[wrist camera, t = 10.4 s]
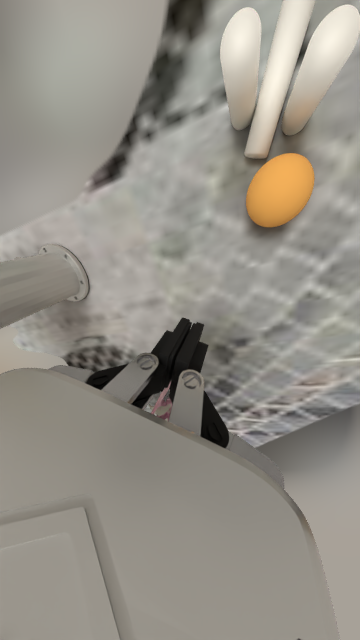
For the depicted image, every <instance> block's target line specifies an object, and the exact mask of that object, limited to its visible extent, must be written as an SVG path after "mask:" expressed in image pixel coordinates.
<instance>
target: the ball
mask: <svg viewBox="0 0 360 640" xmlns="http://www.w3.org/2000/svg"><path fill="white" fill-rule="evenodd" d="M313 186H314V171H313V168H312V165H311V164H310V162H309V161H308V160H307V159H306V158H305V157H303V156H302V155H299V154H295V153H287V154H282V155H279V156H277V157H275V158H273V159H271V160H270V161H268V162H267V163H266V164H264V165H263V166H262V167H261V168H260V170H259V171H258V172H257V173H256V175H255V176H254V178H253V179H252V181H251V183H250V186H249V188H248V192H247V197H246V207H247V211H248V214H249V216H250V218H251V219H252V220H253V221H254V222H255V223H256V224H258V225H260V226H263V227H276V226H280V225H283V224H285V223H287V222H288V221H290V220H292V219H293V218H294V217H295V216H296V215H298V214H299V213H300V211H301V210H302V209H303V208H304V206H305V205H306V204H307V202H308V200H309V198H310V196H311V193H312V190H313Z"/></svg>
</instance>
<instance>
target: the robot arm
mask: <svg viewBox="0 0 360 640" xmlns="http://www.w3.org/2000/svg"><path fill="white" fill-rule="evenodd" d="M88 288H89V285H88V279H87V276H86V273H85V271H84V269H83V267H82V265H81V264H80V262H79V261H78V260H77V258H76V257H75V256H74V255H73V254H72V253H71V252H69V251H68V250H67V249H65V248H64V247H62V246H59V245H56V244H48V245H44V246H43V247H41V249H40V250H39V253H38V255H37V256H31V257H26V258H21V257H16V258H15V259H14V260H10V261H4V262H0V329H1V328H3V327H6V326H8V325H10V324H12V323H14V322H17V321H19V320H21V319H23V318H25V317H28V316H30V315H32V314H34V313H36V312H39V311H41V310H43V309H45V308H47V307H49V306H52V305H54V304H56V303H58V302H60V301H63V300H65V299H67V300H69V301H75V302H76V301H80V300H82V299H84V298H85V297H86V295H87V293H88ZM189 321H190V320H189V319H186V318H182V319H181V320H180V322H179V323H178V325H177V327H176V328H175V330H174V331H173V332H170V331H168V330H167V331H166V332H165V333H164V335H163V336H162V338H161V339H160V341H159V342H158V343H157V345H156V346H155V348H154V349H153V350H152V352H151V353H142V354H140V355H138V356H137V357H136V358H135V359H134V360H133V361H132V362H130V363H129V364H126V365H122V366H118V367H114V368H110V369H105V370H101V371H98V372H95V373H93V372H92V371H91V370H86V369H80V368H74V367H69V366H63V365H59V366H54V367H52V368H50V369H40V368H21V369H14V370H11V371H7V372H5V373H2V374H0V640H340V636H339V632H338V627H337V622H336V618H335V613H334V609H333V605H332V601H331V597H330V593H329V588H328V585H327V580H326V576H325V572H324V569H323V565H322V561H321V558H320V555H319V551H318V548H317V545H316V542H315V539H314V537H313V534H312V531H311V529H310V526H309V524H308V522H307V520H306V518H305V516H304V514H303V513H302V511H301V510H300V508H299V507H298V506H297V504H296V503H295V502H294V501H293V499H292V498H291V497H290V496H289V495H288V493H287V492H286V491H285V490H284V478H283V476H282V473H281V471H280V469H279V468H278V466H277V465H276V464H275V463H274V462H273V461H272V460H271V459H269V458H268V457H267V456H265V455H264V454H262V453H261V452H260V451H258V450H257V449H255V448H254V447H253V446H251V445H250V444H248V443H247V442H246V441H244V440H243V439H241V438H240V437H239V436H237V435H236V434H235V435H233V434H231V433H230V432H229V431H228V430H227V427H226V426H225V424H224V422H223V421H222V419H221V417H220V416H219V414H218V412H217V411H216V409H215V407H214V406H213V404H212V402H211V401H210V399H209V397H208V396H207V394H206V393H205V391H204V379H203V377H202V375H201V374H200V372H201V368H202V365H203V362H204V358H205V355H206V352H207V348H208V345H207V344H204V343H202V342H199V340H200V337H201V334H202V330H203V327H204V324H201V323H198V322H197V323H196V324H195V323H193V325H192V327H191V324H192V322H189ZM190 328H191V329H190ZM170 381H171V384H170ZM169 384H170V388H169V389H170V394H169V397H170V400H171V402H172V408H171V412H170V416H169V421H166V420H164V419H162V418H159V417H157V416H155V415H153V414H151V413H149V412H146V411H144V409H145V408H146V407H147V405H148V404H149V402H150V401H151V400H152V398H153V397H154V395H155V394H156V393H159V392H160V391H162V392H163V390H164V388H168V386H169Z"/></svg>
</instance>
